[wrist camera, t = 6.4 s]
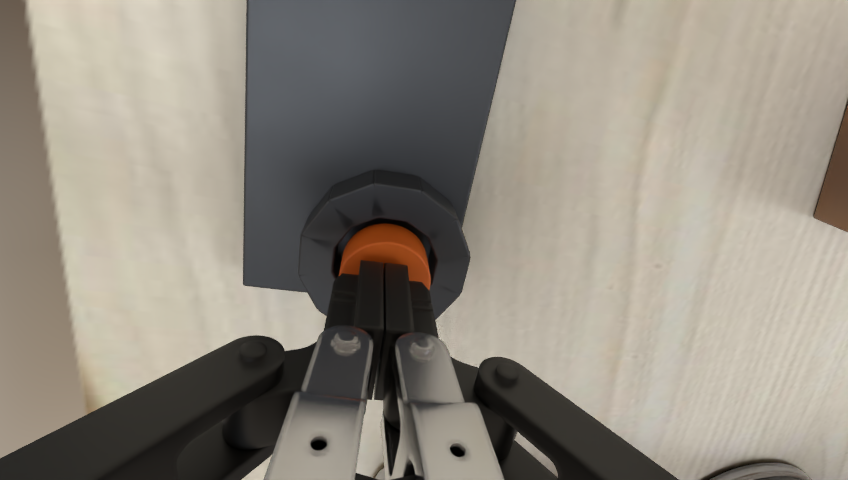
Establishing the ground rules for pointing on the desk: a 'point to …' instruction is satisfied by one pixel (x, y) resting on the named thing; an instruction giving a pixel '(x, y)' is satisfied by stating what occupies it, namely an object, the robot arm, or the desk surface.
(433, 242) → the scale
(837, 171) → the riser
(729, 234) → the desk surface
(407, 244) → the button
